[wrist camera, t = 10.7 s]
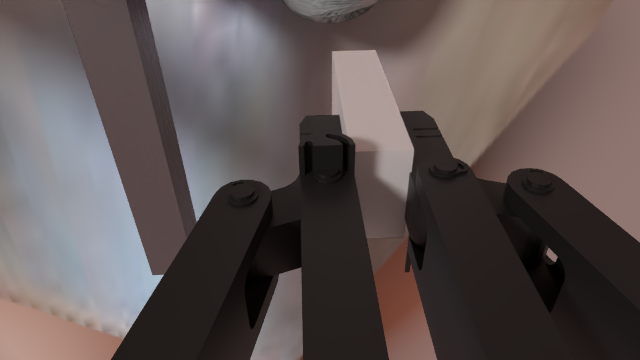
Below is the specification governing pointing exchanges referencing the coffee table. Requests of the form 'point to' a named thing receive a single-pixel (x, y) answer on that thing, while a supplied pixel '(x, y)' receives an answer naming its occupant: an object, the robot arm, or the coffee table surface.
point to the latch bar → (136, 120)
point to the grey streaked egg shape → (329, 9)
